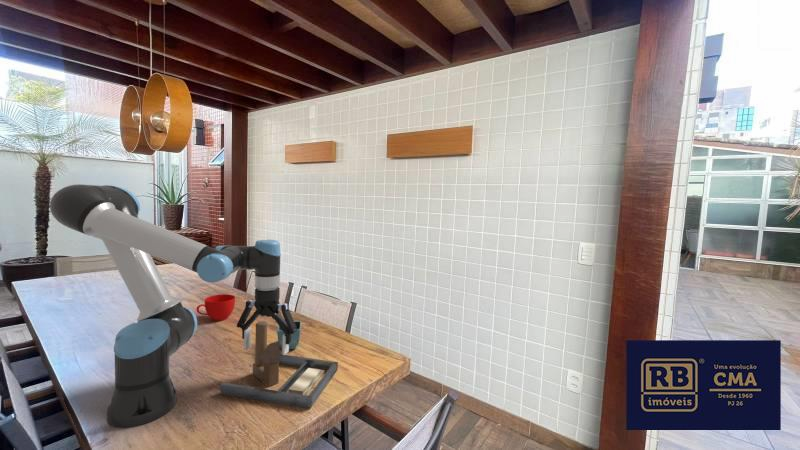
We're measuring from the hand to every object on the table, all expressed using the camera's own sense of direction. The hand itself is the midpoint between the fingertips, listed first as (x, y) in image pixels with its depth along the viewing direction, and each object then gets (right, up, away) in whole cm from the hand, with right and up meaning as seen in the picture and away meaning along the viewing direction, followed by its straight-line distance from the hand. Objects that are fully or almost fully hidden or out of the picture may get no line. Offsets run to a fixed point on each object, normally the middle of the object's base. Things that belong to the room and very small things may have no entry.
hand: (266, 350), depth 107 cm
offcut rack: (+6, -10, 0) cm, 11 cm away
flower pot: (-1, -8, +24) cm, 25 cm away
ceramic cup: (-44, -4, +48) cm, 66 cm away
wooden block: (-1, -10, +1) cm, 10 cm away
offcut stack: (+14, -11, -2) cm, 18 cm away
